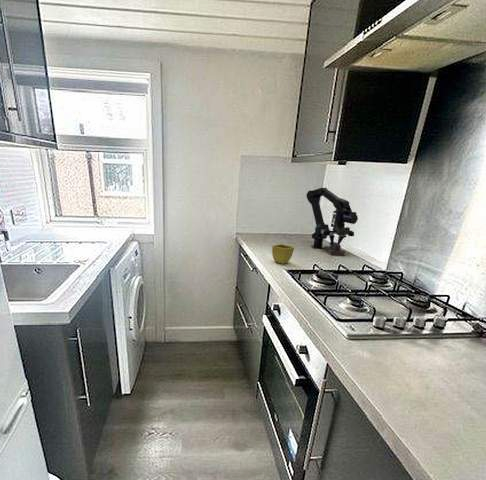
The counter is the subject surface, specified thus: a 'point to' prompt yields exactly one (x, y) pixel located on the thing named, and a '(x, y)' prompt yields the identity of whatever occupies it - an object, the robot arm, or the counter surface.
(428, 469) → the counter surface
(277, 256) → the flower pot
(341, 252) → the stand
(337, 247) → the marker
